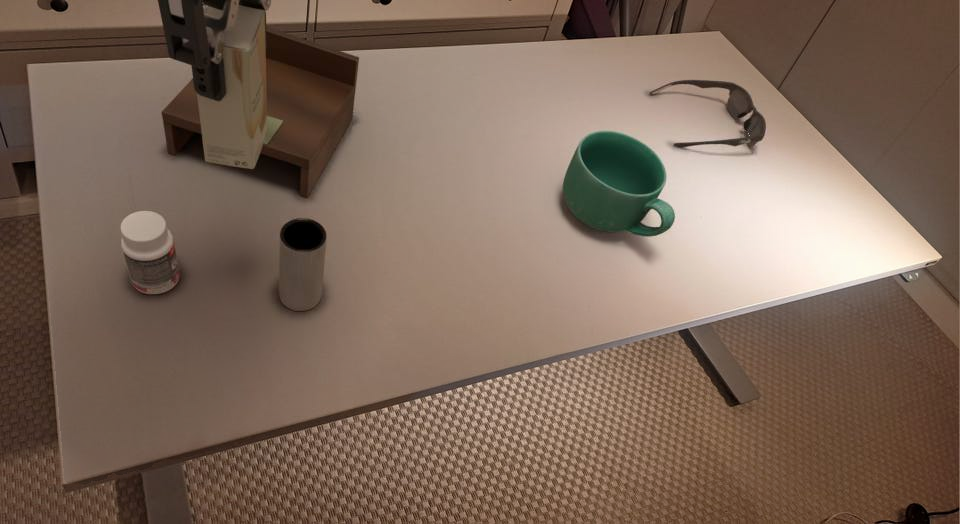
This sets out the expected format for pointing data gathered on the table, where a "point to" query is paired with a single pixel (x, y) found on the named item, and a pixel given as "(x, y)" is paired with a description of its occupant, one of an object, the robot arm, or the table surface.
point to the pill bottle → (149, 252)
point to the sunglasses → (737, 107)
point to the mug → (616, 184)
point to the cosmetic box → (238, 94)
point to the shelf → (288, 105)
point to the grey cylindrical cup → (301, 263)
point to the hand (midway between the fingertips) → (233, 70)
